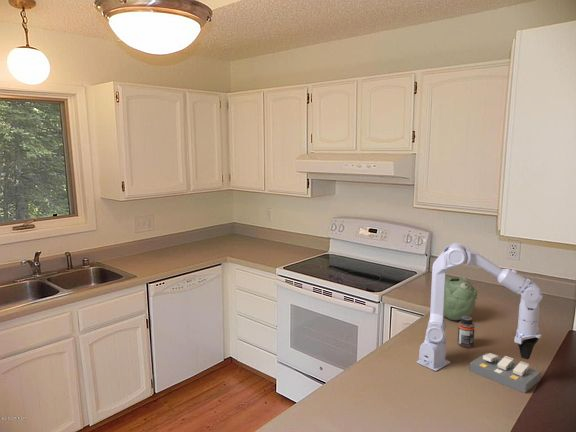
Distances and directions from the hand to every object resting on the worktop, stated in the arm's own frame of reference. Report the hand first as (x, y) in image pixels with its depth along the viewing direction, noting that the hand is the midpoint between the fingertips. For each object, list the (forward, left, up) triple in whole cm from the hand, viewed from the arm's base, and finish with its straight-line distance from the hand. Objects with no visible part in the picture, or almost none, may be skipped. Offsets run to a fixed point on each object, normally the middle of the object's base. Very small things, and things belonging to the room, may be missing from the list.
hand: (525, 357), depth 138 cm
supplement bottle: (+9, +25, -8) cm, 28 cm away
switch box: (-3, +5, -7) cm, 9 cm away
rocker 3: (-3, 0, -3) cm, 4 cm away
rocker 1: (-3, +10, -3) cm, 11 cm away
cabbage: (+30, +42, -8) cm, 52 cm away
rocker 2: (-3, +5, -3) cm, 6 cm away
